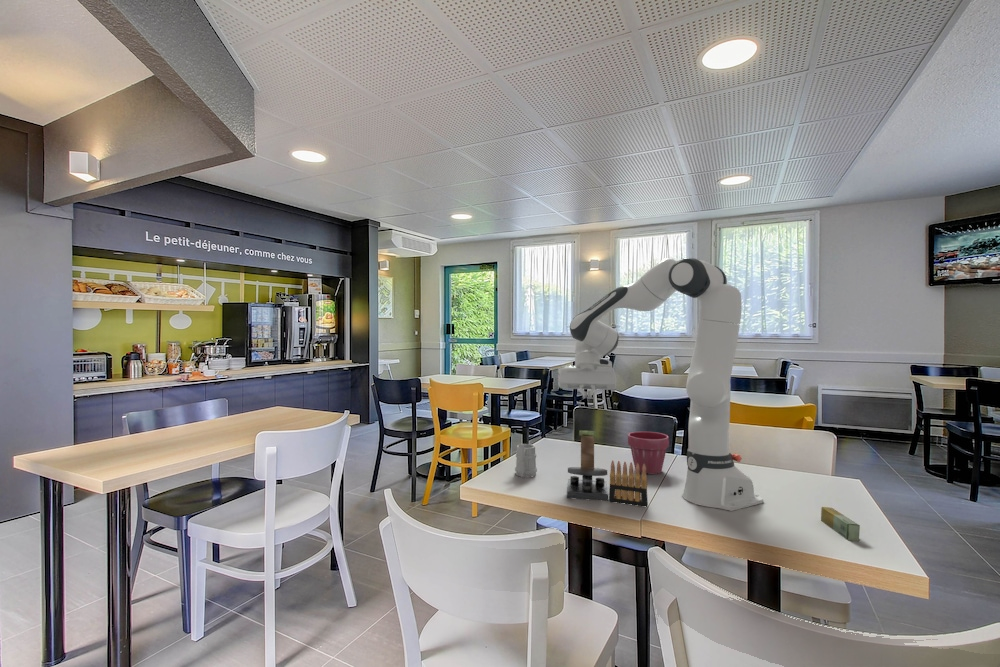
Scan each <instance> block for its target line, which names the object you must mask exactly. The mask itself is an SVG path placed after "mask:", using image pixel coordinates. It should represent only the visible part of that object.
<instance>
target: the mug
mask: <svg viewBox="0 0 1000 667" xmlns="http://www.w3.org/2000/svg"><path fill="white" fill-rule="evenodd" d="M515 457H516V461H515V467H514V471H515V475H516V476H518V477H520V476H521V477H520V478H531V477H530V476H533V477H535V476H536V475H537V472H538V468H537V463H536V462H537V461H536V460H537V459H536V458H537V453H536V445H534V444H532V443H531V444H529V443H520V444H518V445H516V453H515Z"/></svg>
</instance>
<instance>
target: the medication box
mask: <svg viewBox="0 0 1000 667" xmlns="http://www.w3.org/2000/svg"><path fill="white" fill-rule="evenodd" d="M820 513H821V514H820V521H821V522H822V523H824V524H825V525H826V526H827V527H829V528H830V529H831V530H833V531H835V532H836V533H837V534H839V535H840V536H841V537H842V538H844V539H845V540H847V541H851V542H860V529H861V527H860V526H861V525H860V524H858V523H857V522H856V521H854V520H852V519H850V518H849V517H848V516H845V515H844V514H842V513H841V512H839V511H838V510H837V509H835V508H833V507H830V506H829V507H828V506H821V512H820Z"/></svg>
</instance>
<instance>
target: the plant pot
mask: <svg viewBox="0 0 1000 667" xmlns="http://www.w3.org/2000/svg"><path fill="white" fill-rule="evenodd" d="M669 438H670V437H669V436H668V434H665V433H661V432H658V431H657V432H655V431H632V432H629V433H628V434H627V444H628V445H629V446H630V450H631V455H632V456H631V457H632V461H633V467H634V470H635V471H636V465H637V463H638V464H639V468H640V473H641V472H642V467H643V464H645V466H646V473H648V475H656V474H657V473H658V474H661V473H662V472H663V471H662V470H663V468H664V467H663V466H664V462H665V458H666V457H665V456H666V453H667V452H666V451H667V449H668V448H670V439H669Z"/></svg>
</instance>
